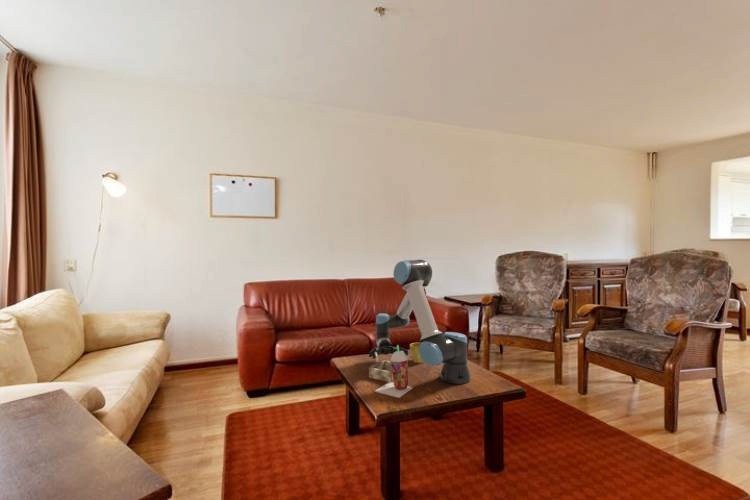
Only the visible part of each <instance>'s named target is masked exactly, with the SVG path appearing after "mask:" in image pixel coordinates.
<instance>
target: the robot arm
mask: <svg viewBox="0 0 750 500" xmlns="http://www.w3.org/2000/svg"><path fill="white" fill-rule="evenodd" d="M392 275H393V279H394V281H395V282H396V283H397V284H399V285H401V287H402V290H404V291H406V294H405V295H404V297H403V299H402V301H401V303H400V304H399V307H398V308H397V310H396V312H395V314H394V315H389V314H388V313H383V312H382V313H378V314H376V316H375V329H376V332H375V344H376V346H373V348H371V350H370V351H368V356H369V358H371V357H372V359H373V360H375V361H376V363H379V356H380V355H385V356H387V355H389V354H391V355H392V354H393V353H394V352H396V351H398V349H397V346H396V347H395V346H393V344H392V342H391V340H390V330H394V329H399V328H404V327H407V326H409V324H410V315H411V313H412V311H413V314H414V317H415V320H416V322H417V323H416V324H417V325H418V328H419V332H420V335H421V337H420V339H419V341H420V343H421V344H420V346H419V348H420V349H419V354H420V357H421V359H422V360H423V361H424V362H423V363H425V364H426V365H429V366H439V365H441V364H442V366H441V367H442V368H441V370H440V373H439V374H440V380H442V381H444V382H445V383H449V384H452V385H453V384H455V385H462V384H466V383H469V382H471V380H472V377H471V376H472V375H471V372H470V369H469V366H468V337H467V335H465V334H463V333H460V332H455V331H454V332H453V331H446V332H442V331H440V330H439V329H438V325H437V323H436V320H435V317H434V315H433V312H432V309H431V306H430V304H429V301H428V298H427V296H426V292H425V290H424V289H425V288H427V287H428V286H429V284H430V282H431V280H432V279H433V269H432V266H431V264H430V263H429V262H427V261H426V260H424V259H414V260H413V259H412V260H411V259H410V260H401V261H399V262H397V263H396V264H395V266H394V269H393V273H392ZM399 351H402V352H404V353H405V355H406V356H408V355H409V350H408V349H406V348H404V347H401V346H399Z"/></svg>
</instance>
